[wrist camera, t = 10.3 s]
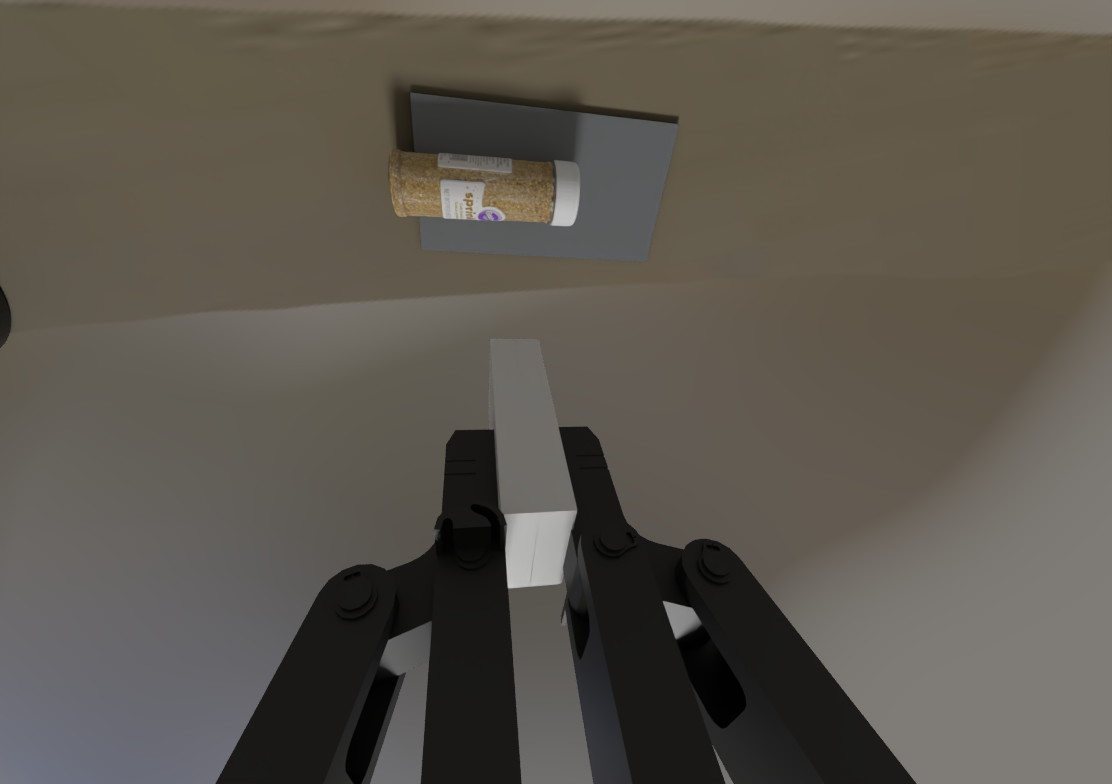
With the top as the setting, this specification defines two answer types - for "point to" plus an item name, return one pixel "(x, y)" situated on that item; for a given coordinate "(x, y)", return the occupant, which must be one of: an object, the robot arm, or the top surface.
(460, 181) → the sprinkles bottle
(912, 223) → the top surface
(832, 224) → the top surface
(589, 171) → the mat
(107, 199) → the top surface
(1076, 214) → the top surface
